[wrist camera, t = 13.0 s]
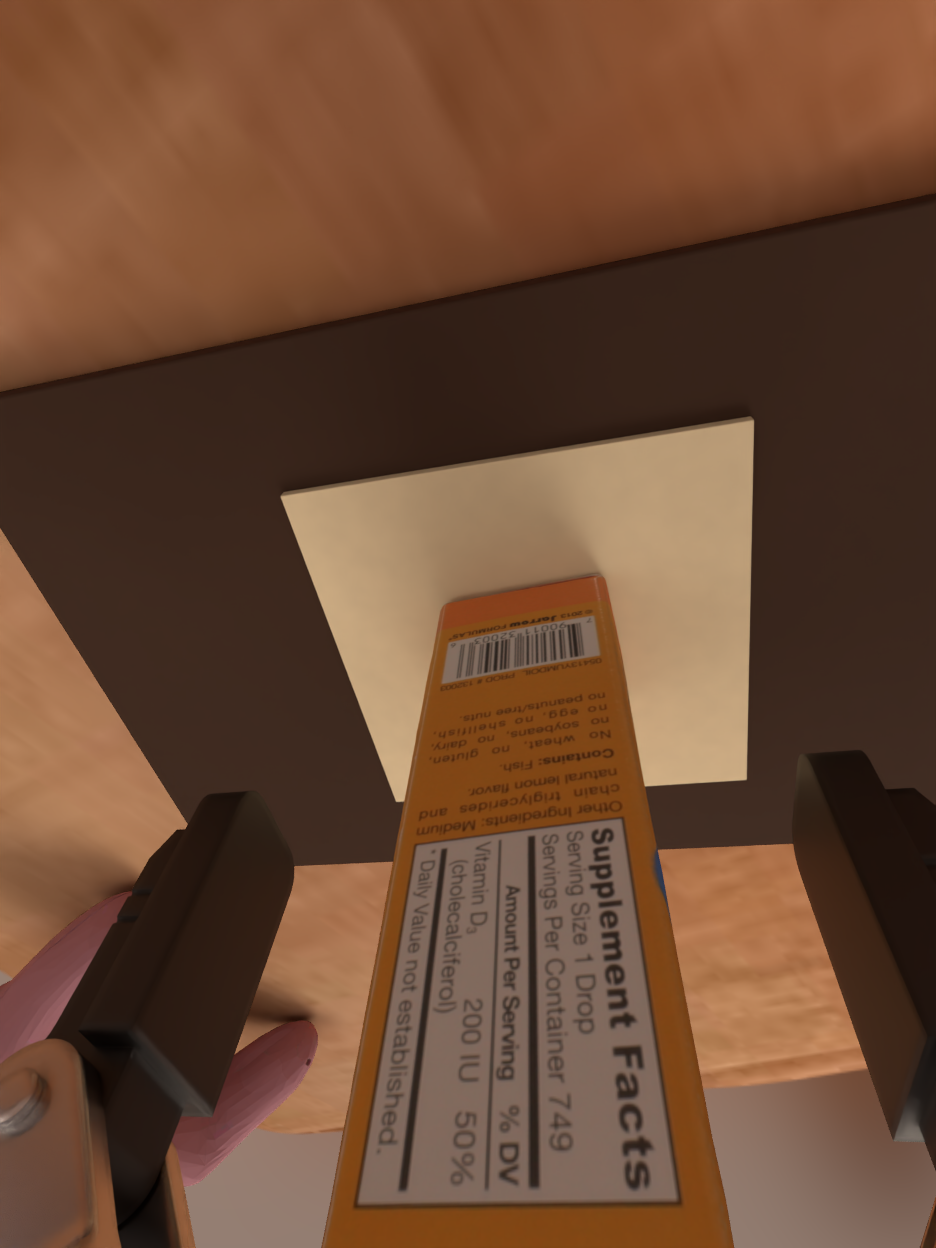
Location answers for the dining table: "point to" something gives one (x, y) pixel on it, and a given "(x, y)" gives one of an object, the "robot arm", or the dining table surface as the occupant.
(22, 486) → the desk pad
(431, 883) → the supplement box
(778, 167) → the dining table surface
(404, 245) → the dining table surface
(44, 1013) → the video game controller
